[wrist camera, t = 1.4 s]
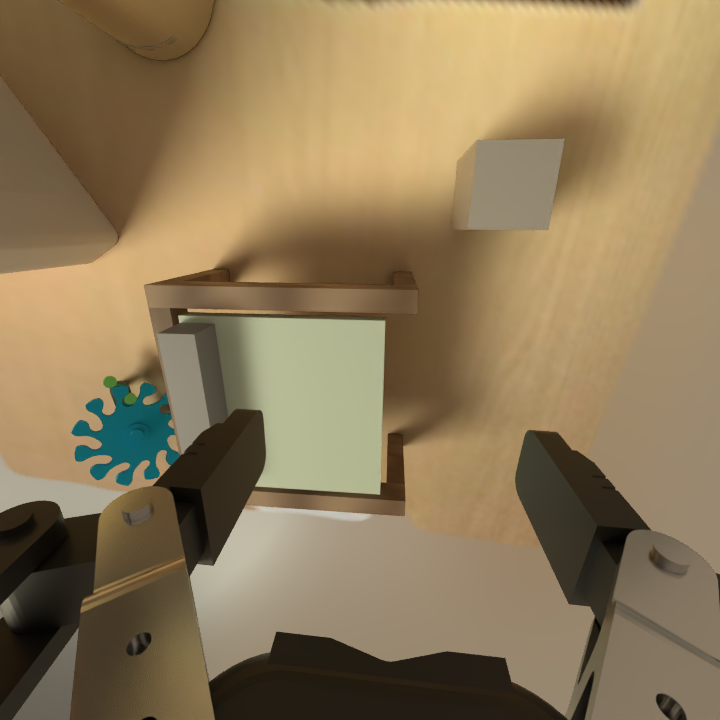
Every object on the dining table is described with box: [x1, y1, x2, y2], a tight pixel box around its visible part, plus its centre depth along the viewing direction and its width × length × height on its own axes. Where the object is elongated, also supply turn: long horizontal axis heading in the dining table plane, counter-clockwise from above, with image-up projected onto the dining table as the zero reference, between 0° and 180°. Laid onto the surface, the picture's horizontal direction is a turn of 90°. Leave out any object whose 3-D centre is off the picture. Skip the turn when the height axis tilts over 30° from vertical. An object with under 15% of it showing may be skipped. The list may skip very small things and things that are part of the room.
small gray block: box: [451, 139, 565, 230], centre depth 25 cm, size 5×5×7 cm
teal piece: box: [71, 376, 180, 486], centre depth 36 cm, size 11×6×10 cm
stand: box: [144, 269, 419, 516], centre depth 30 cm, size 18×18×10 cm
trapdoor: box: [157, 312, 386, 495], centre depth 25 cm, size 14×14×4 cm
